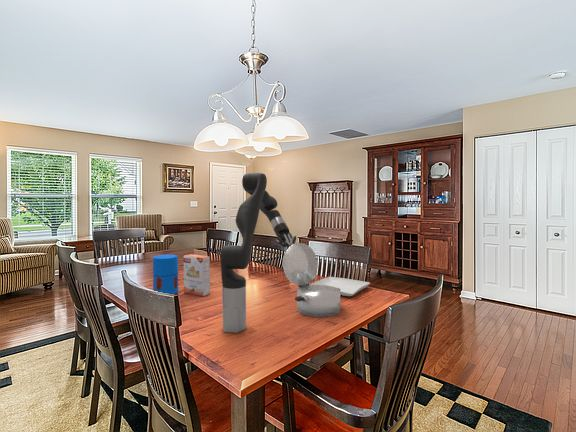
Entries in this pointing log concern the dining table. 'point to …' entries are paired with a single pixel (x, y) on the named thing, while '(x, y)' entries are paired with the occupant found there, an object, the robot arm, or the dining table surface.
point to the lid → (300, 264)
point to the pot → (318, 300)
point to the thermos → (165, 274)
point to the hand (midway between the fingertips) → (293, 252)
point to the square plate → (343, 285)
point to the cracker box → (197, 274)
